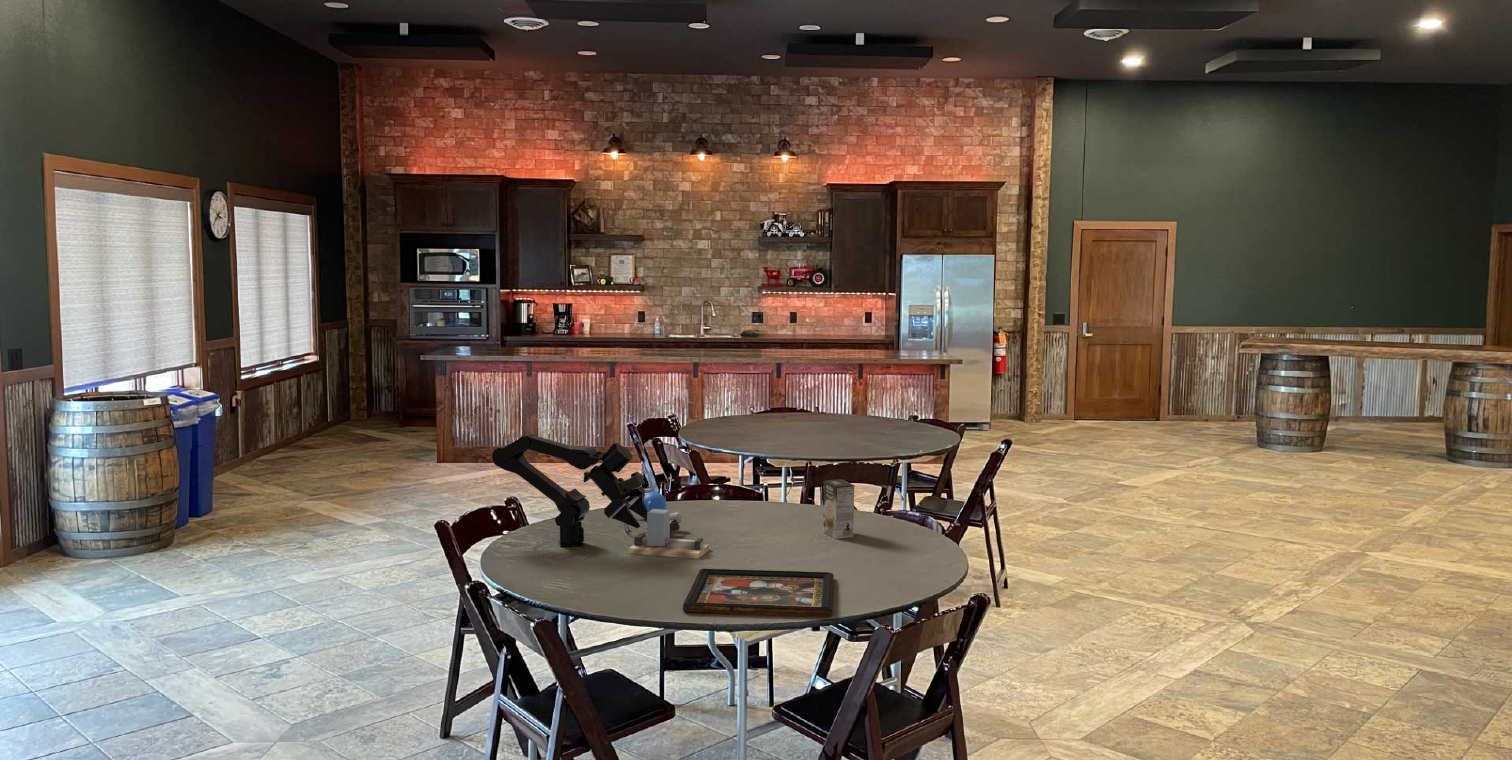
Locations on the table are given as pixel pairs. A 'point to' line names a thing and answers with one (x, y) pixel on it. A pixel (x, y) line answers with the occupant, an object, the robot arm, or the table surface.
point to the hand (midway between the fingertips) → (644, 523)
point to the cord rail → (670, 547)
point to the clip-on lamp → (674, 521)
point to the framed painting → (761, 592)
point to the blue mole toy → (654, 501)
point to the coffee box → (838, 508)
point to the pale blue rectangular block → (658, 527)
